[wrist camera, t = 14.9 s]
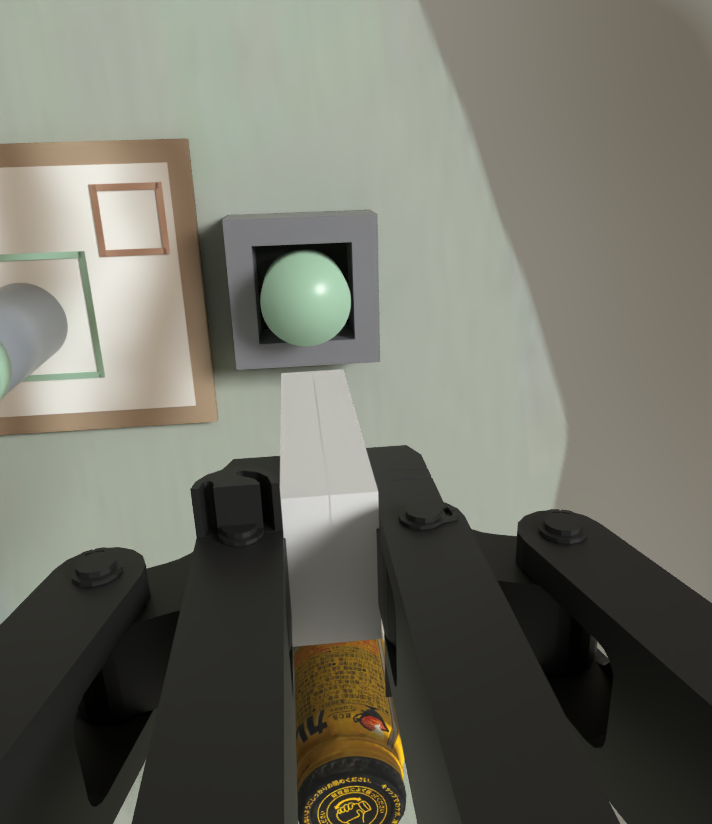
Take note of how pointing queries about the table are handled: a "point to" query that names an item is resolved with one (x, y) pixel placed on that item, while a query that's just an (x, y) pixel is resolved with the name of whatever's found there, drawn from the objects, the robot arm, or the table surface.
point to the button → (305, 297)
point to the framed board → (109, 283)
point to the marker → (27, 331)
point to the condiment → (346, 736)
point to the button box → (292, 229)
